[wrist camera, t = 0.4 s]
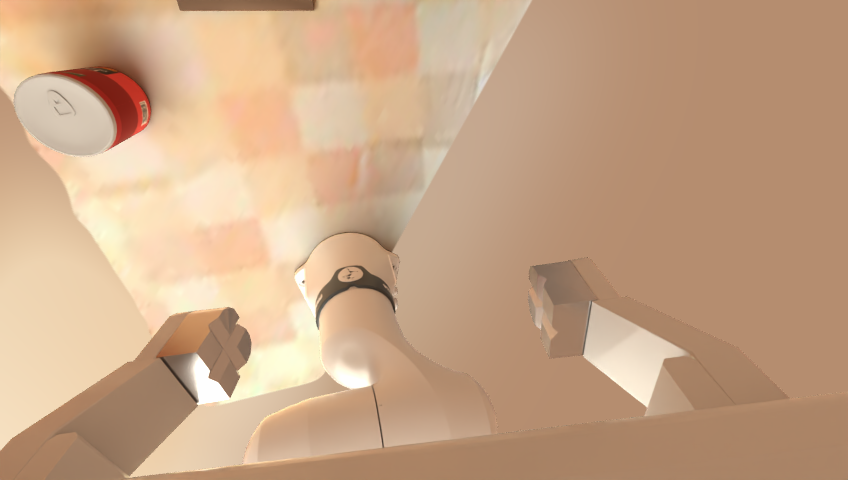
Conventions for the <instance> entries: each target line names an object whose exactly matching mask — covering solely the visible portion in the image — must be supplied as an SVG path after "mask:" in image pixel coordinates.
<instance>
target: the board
mask: <svg viewBox="0 0 848 480" xmlns="http://www.w3.org/2000/svg"><path fill="white" fill-rule="evenodd" d="M177 2H178V5H179V8H180V10H181V11H294V10H314V8H313V1H312V0H177Z"/></svg>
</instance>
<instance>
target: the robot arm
mask: <svg viewBox="0 0 848 480" xmlns="http://www.w3.org/2000/svg"><path fill="white" fill-rule="evenodd" d="M392 265H394V266H393V267H392ZM398 267H399V257H398V256H397V255H396V254H394V253H392V252H389V251H387V250H385V249H384V248H383V247H382V246H381V245H380V244H379V243H378V242H377V241H375V240H374V239H372V238H370V237H368V236H366V235H363V234H358V233H342V234H338V235H334V236H332V237H329V238H327V239H326V240H324V241H323V242H321V243H320V244H319V245H318V246H317V247H316V248H315V249H314V250H313V251H312V253H311V255H310V257H309V259H308V260H307V262H306V263H305V264H304V265H302V266H301V267H300V268H299V269H297V270H296V272H295V274H294V276H295V280H296V282H297V284H298V286H299V288H300V290H301V292H302V294H303V296H304V298H305V299H306V301H307V303H308V305H309V307H310V309H311V311H312V313H313V315H314V317H315V319H316V324H317V327H318V330H319V334H320V358H321V362H322V365H323V367H324V369H325V370H326V371H327V373H328V374H329V375H330V376H331V377H332V378H333V379H334V380H335V381H336V382H338V383H339V384H341V385H343V386H345V387H348V388H351V389H352V390H347V391H342V392H337V393H332V394H328V395H323V396H318V397H313V398H309V399H307V400H304V401H301V402H299V403H297V404H294V405H291V406H289V407H287V408H284V409H282V410H280V411H278V412H275V413H273V414H271V415H268V416H267V417H265V418H264V419H263V420H262V422H261V423H260V424H259V426H258V427H257V429H256V430H255V431H254V433H253V435H252V437H251V439H250V441H249V443H248V446H247V448H246V451H245V455H244V458H243V463H242V465H233V466H226V467H217V468H209V469H201V470H192V471H183V472H174V473H166V474H158V475H149V476H141V477H133V478H130V477H129V476H130V475H131V474H132V473H133V472H134V471H135V470H136V469H137V468H138V467H139V466H140V464H142V463H143V462H144V461H145V459H146V458H147V457H148V456H149V455H150V454H151V453H152V452H153V451H154V450H155V449H156V448H157V447H158V446H159V445H160V444H161V443H162V442H163V441H164V440H165V439H166V438H167V437H168V436H169V435H170V434H171V433H172V432H173V431H174V430H175V429H176V428H177V427H178V426H179V425H180V424H181V423H182V422H183V420H184V419H185V418H186V417H187V416H188V415H189V414H190V413H191V412H192V411H193V410H194V409H195V408H196V407H197V406H198V405H197V404H201V403H207V402H214V401H220V400H226V399H230V397H231V395H232V393H233V391H234V389H235V387H236V384H237V382H238V380H239V378H240V375H239V373H238V370H239V369H240V368H241V367H242V366H243V365H245V364H246V363H247V361H248V358H249V356H250V353H251V339H250V335H249V333H248V332H247V330H246V329H245V328H244V327H242V326H240V325H238V324H237V323H238V320H239V316H238V314H237V313H236V311H235V310H234V309H233V308H229V307H225V308H216V309H208V310H199V311H193V312H183V313H176V314H174V315H172V316H170V317H169V318H168V319H167V320H166V322H165V323H164V324H163V325H162V327H161V328H160V329H159V330H158V332H157V333H156V334H155V335H154V337H153V338H152V339H151V340H150V342H149V343H148V344H147V345H146V347H145V348H144V349H143V350H142V352H141V353H140V354H139V355H138V357H137V358H136V359H135V360H134V361H133V362H127V363H126V364H124V365H123V366H121V367H120V368H118V369H117V370H115V371H114V372H112V373H111V374H109V375H108V376H106V377H105V378H103V379H101V380H100V381H99V382H97V383H96V384H94V385H92V386H91V387H89V388H88V389H86V390H85V391H83V392H82V393H80V394H79V395H77V396H76V397H74V398H73V399H71V400H70V401H68V402H67V403H65V404H64V405H62V406H61V407H59V408H58V409H56V410H55V411H53V412H51V413H50V414H48V415H47V416H45V417H44V418H42V419H41V420H39V421H38V422H36V423H35V424H33V425H32V426H30V427H29V428H27V429H26V430H24V431H23V432H21V433H20V434H18V435H17V436H15V437H14V438H12V439H11V440H10V441H9V442H8V443H7V444H6V445H5V447H4V448H3V449H2V450H1V451H0V480H848V392H840V393H832V394H824V395H815V396H808V397H798V398H789V397H788V396H787V395H786V394H785V393H784V392H783V391H782V390H781V389H780V388H779V387H778V386H777V385H776V384H775V383H774V382H773V381H772V380H771V379H770V378H769V377H768V376H767V375H766V374H765V373H763V371H762V370H761V369H760V368H758V366H756V365H755V364H754V363H753V362H752V361H751V360H750V359H749V358H748V357H747V356H746V355H745V354H744V353H743V352H742V351H741V350H740V349H739V348H738V347H735V346H733V345H731V344H729V343H727V342H725V341H722V340H720V339H718V338H716V337H714V336H712V335H710V334H707V333H705V332H703V331H701V330H699V329H697V328H694V327H692V326H690V325H688V324H685V323H684V322H681V321H679V320H677V319H675V318H672V317H671V316H668V315H666V314H664V313H662V312H660V311H658V310H655V309H653V308H651V307H649V306H647V305H644V304H642V303H640V302H638V301H636V300H634V299H631V298H629V297H621V296H620V295H619V294H618V293H617V291H616V290H615V289H614V288H613V286H612V285H611V284H610V282H609V281H608V280H607V279H606V278H605V276H604V275H603V274H602V272H601V271H600V270H599V269H598V267H597V266H596V265H595V264H594V263H593V261H592V260H591V259H590V258H588V257H587V258H581V259H574V260H568V261H565V262H558V263H551V264H544V265H536V266H531V267H530V270H529V280H530V282H531V284H532V288H531V289H530V290H529V292H528V295H529V296H528V298H529V299H528V301H529V307H530V313H531V316H532V319H533V322H534V324H535V326H537V327H538V328H540V329H541V340H542V342H543V345H544V347H545V350H546V352H547V354H548V356H549V358H560V357H570V356H580V355H584V356H583V357H584V358H586V359H587V360H588V361H589V362H591V363H592V364H593V365H594V366H596V367H597V368H599V370H601V371H602V372H603V373H605V374H606V375H607V376H608V377H610V378H611V379H612V380H613V381H615V382H616V383H617V384H618V385H620V386H621V387H622V388H623V389H625V390H626V391H627V392H628V393H630V394H631V395H632V396H634V397H635V398H636V399H637V400H639V401H640V402H641V403H642V404H644V405H645V406H646V407H647V410H646V413H645V416H641V417H632V418H624V419H616V420H608V421H599V422H591V423H582V424H574V425H566V426H558V427H549V428H541V429H533V430H525V431H516V432H508V433H499V434H497V419H496V414H495V410H494V407H493V405H492V403H491V400H490V398H489V396H488V395H487V393H486V392H485V390H484V389H483V387H482V386H481V385H480V384H479V383H478V382H477V381H476V380H475V379H474V378H472V377H471V376H470V375H468V374H466V373H463V372H459V371H455V370H452V369H449V368H446V367H444V366H442V365H440V364H437V363H436V362H434V361H432V360H430V359H429V358H427V357H426V356H424V355H423V354H421V353H420V352H419V351H417V350H416V349H415V348H414V347H413V346H412V345H411V344H410V343H409V342H408V341H407V340H406V338H405V337H404V335H403V333H402V331H401V329H400V326H399V324H398V322H397V319H396V316H395V310H397V307H398V304H397V299H396V298H394V295H397V293H398V291H397V288H396V287H395V286H396V284H397V281H396V280H397V273H398ZM303 280H304V282H303Z"/></svg>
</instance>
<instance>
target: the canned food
mask: <svg viewBox="0 0 848 480" xmlns="http://www.w3.org/2000/svg"><path fill="white" fill-rule="evenodd" d="M14 108H15V111H16V114H17V116H18V119H19V120H20V122H21V123H22V125H23V127H24V128H25V129H26V130H27V131H28V132H29V133H30V134H31V135H32V136H33V137H34V138H35V139H36V140H37V141H39V142H40V143H42V144H43V145H45V146H46V147H48V148H50V149H52V150H54V151H56V152H59V153H62V154H65V155H69V156H74V157H89V156H94V155H97V154H100V153H103V152H105V151H107V150H109V149H110V148H112V147H114V146H116V145H118V144H119V143H121V142H123V141H125V140H126V139H128V138H130V137H132V136H133V135H135V134H137V133H139V132H140V131H142V130H143V129H144V128H145V127H146V126H147V124H148V122H149V119H150V115H151V108H150V104H149V100H148V98H147V96H146V94H145V93H144V91H143V90H142V89H141V87H140V86H139V85H138V84H137V83H136V82H134V81H133V80H132V79H131V78H129V77H128V76H126V75H124V74H123V73H120V72H118V71H116V70H113V69H110V68H106V67H90V68H81V69H73V70H65V71H57V72H49V73H43V74H38V75H35V76H32V77H29V78H27V79H26V80H24V81H22V82H21V83H20V85H19V86H18V87H17V89H16V91H15V94H14Z"/></svg>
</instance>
